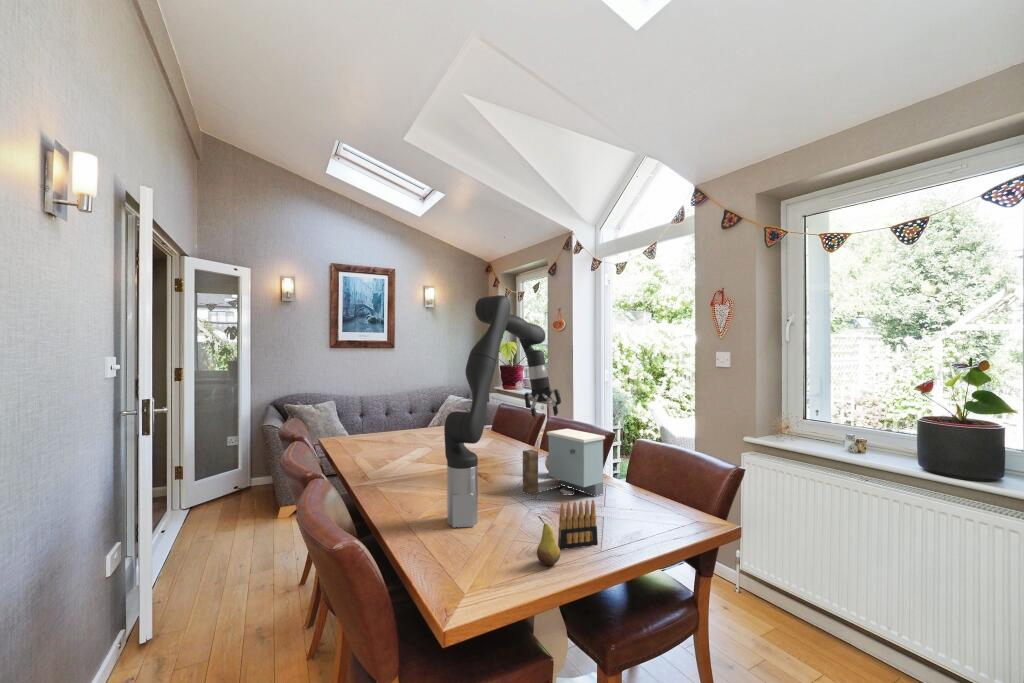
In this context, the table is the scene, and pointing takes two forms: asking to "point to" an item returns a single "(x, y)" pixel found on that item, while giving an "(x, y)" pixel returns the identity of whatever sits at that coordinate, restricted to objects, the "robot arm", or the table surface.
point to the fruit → (548, 547)
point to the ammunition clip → (577, 526)
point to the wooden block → (534, 474)
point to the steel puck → (567, 490)
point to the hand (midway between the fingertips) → (545, 416)
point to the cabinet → (577, 459)
